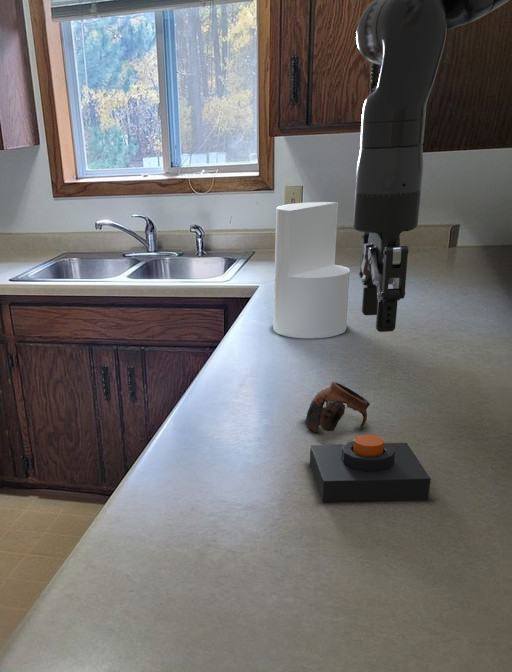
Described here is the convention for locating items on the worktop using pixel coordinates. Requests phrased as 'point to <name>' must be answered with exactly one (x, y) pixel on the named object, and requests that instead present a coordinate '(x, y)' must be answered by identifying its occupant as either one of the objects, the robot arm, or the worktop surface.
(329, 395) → the broken clay vessel
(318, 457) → the push button base
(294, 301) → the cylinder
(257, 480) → the worktop surface
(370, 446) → the power button
